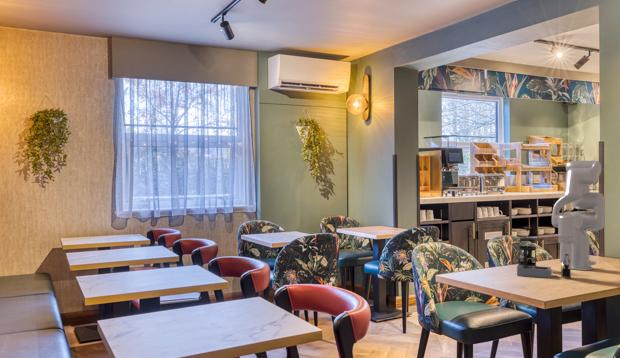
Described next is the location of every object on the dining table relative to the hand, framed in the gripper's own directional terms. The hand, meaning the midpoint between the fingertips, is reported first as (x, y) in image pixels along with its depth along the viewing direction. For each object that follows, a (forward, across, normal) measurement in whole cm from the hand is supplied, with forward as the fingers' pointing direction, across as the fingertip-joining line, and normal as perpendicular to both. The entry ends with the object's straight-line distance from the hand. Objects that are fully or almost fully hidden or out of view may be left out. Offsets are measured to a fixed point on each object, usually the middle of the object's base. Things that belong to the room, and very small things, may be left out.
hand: (566, 275), depth 262 cm
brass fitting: (+1, 0, 0) cm, 1 cm away
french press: (+2, -20, -18) cm, 27 cm away
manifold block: (+1, 0, -15) cm, 15 cm away
